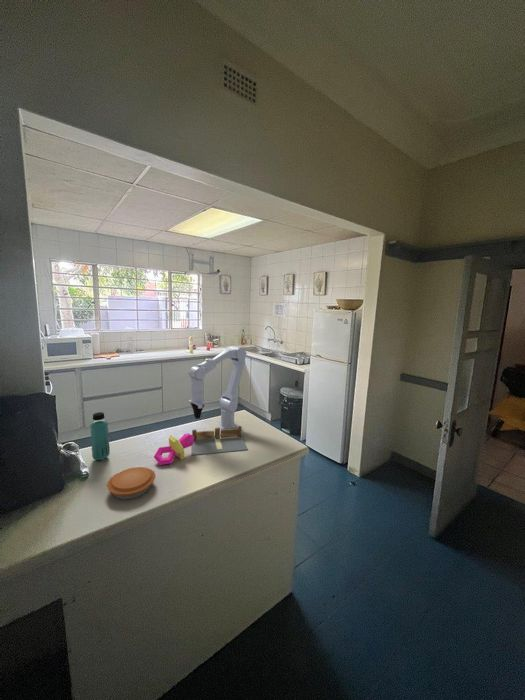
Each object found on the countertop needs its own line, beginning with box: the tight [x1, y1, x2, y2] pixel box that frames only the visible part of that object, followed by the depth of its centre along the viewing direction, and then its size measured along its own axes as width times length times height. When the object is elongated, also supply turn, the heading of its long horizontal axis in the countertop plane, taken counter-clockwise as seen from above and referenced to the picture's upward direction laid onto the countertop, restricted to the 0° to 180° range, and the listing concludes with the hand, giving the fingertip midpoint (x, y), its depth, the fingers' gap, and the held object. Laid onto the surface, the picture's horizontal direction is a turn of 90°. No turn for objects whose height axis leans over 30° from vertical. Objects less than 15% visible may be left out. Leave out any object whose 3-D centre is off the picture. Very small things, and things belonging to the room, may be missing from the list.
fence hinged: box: [191, 429, 215, 440], centre depth 136 cm, size 10×2×5 cm, turn 105°
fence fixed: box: [214, 425, 242, 439], centre depth 139 cm, size 2×13×5 cm, turn 105°
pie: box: [106, 466, 156, 500], centre depth 98 cm, size 16×16×5 cm
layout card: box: [190, 433, 249, 456], centre depth 133 cm, size 17×25×1 cm
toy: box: [153, 433, 194, 466], centre depth 119 cm, size 10×18×10 cm, turn 135°
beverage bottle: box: [89, 411, 111, 461], centre depth 115 cm, size 6×7×20 cm
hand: (197, 417), depth 138 cm, fingers closed
